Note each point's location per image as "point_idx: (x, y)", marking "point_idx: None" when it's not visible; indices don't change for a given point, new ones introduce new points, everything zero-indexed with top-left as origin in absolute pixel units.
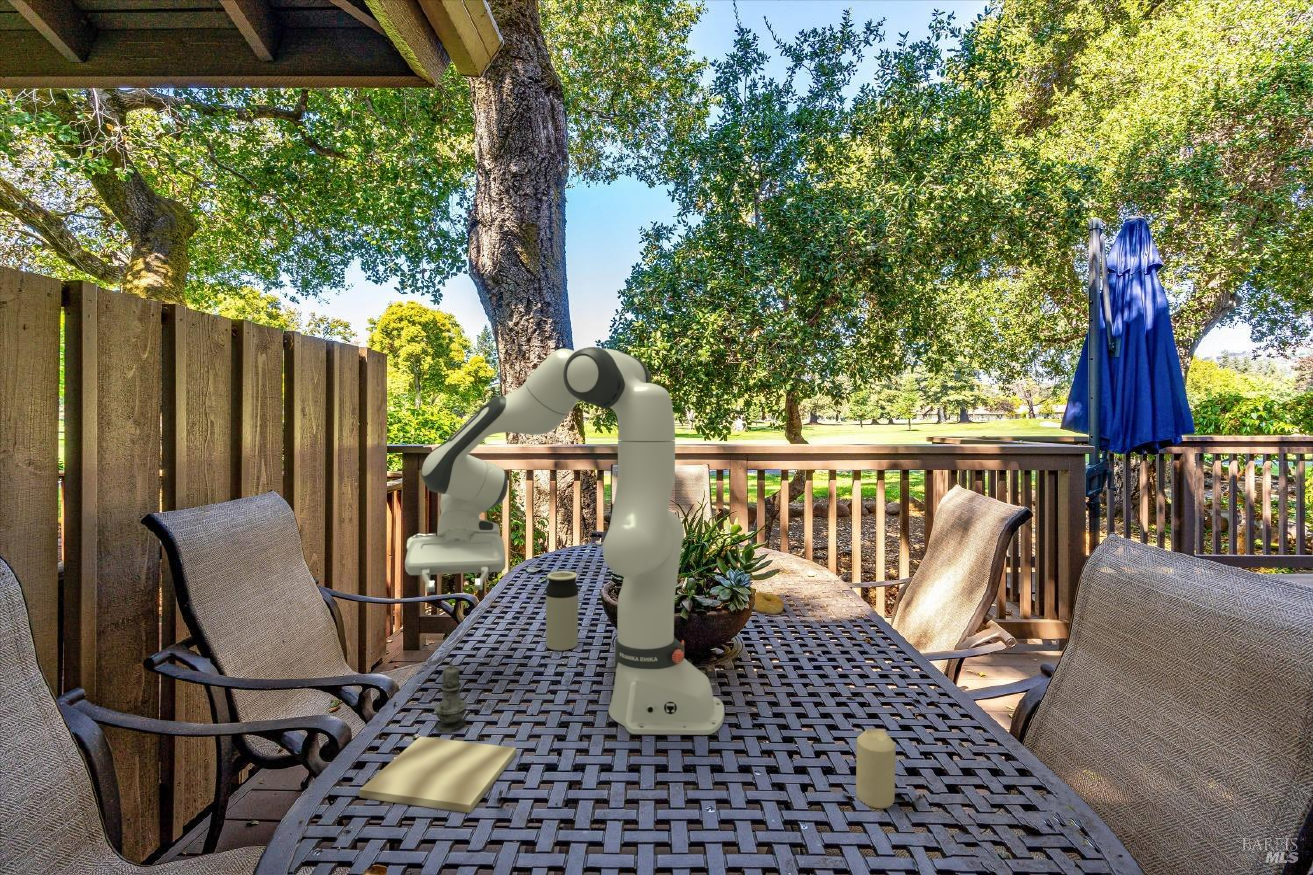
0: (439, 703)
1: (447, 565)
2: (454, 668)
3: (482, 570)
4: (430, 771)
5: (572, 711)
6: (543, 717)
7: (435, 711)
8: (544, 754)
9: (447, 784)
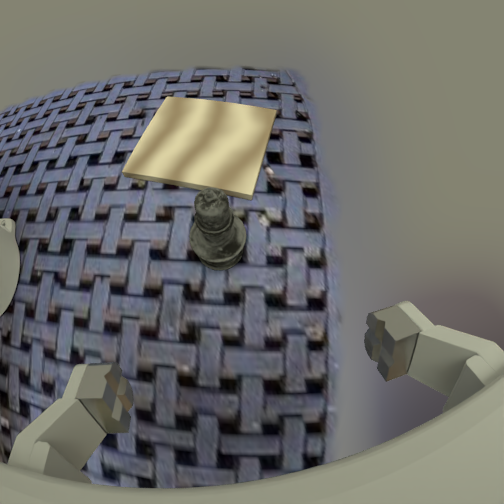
0: (241, 244)
1: (365, 453)
2: (201, 193)
3: (44, 445)
4: (213, 130)
5: (53, 283)
6: (87, 267)
7: (240, 220)
8: (96, 179)
9: (191, 114)
